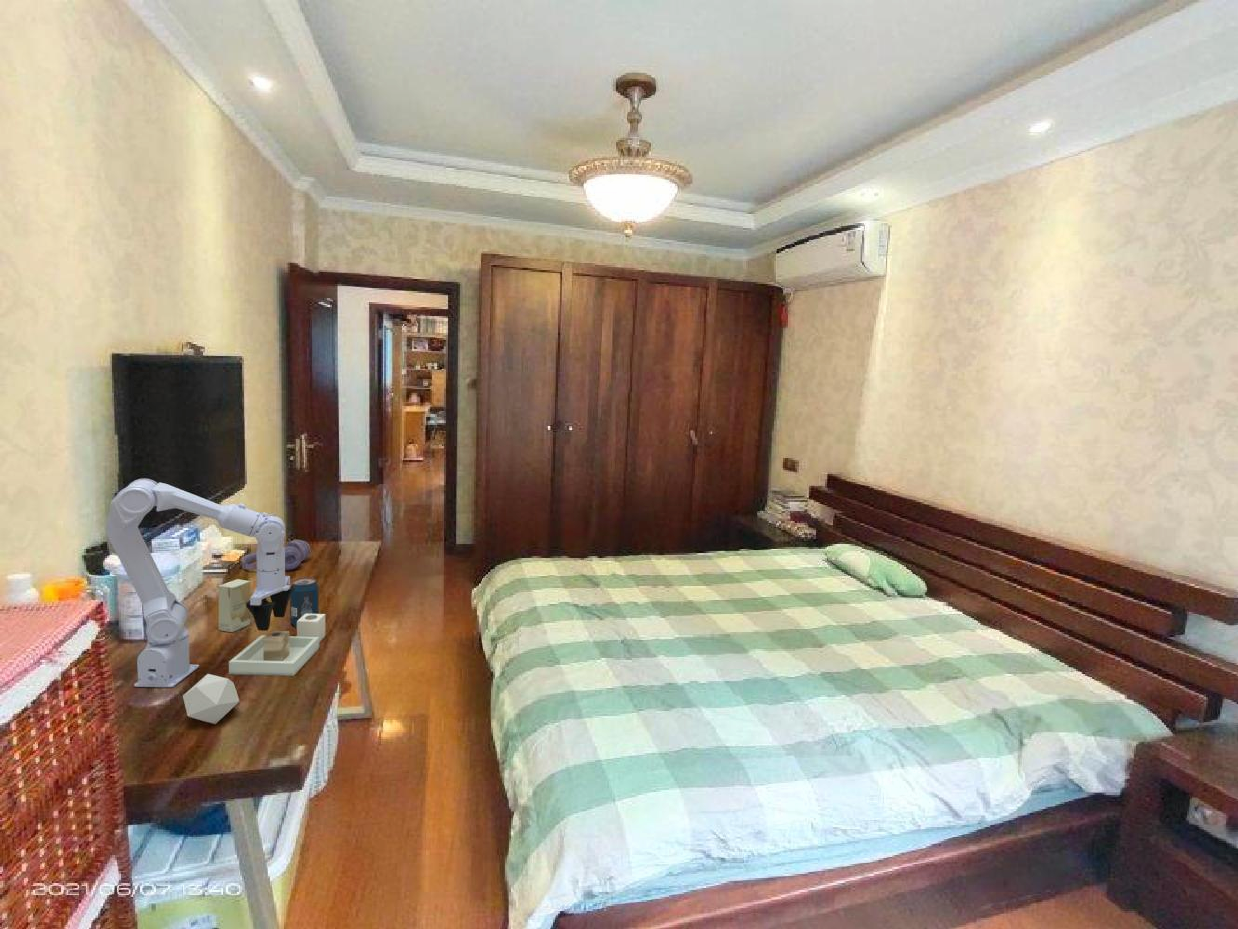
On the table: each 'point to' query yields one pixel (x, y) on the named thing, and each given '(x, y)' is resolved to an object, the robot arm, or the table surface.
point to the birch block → (276, 646)
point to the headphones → (293, 555)
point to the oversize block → (311, 626)
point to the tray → (254, 663)
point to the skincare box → (234, 605)
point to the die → (210, 698)
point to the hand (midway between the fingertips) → (271, 623)
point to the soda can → (303, 599)
